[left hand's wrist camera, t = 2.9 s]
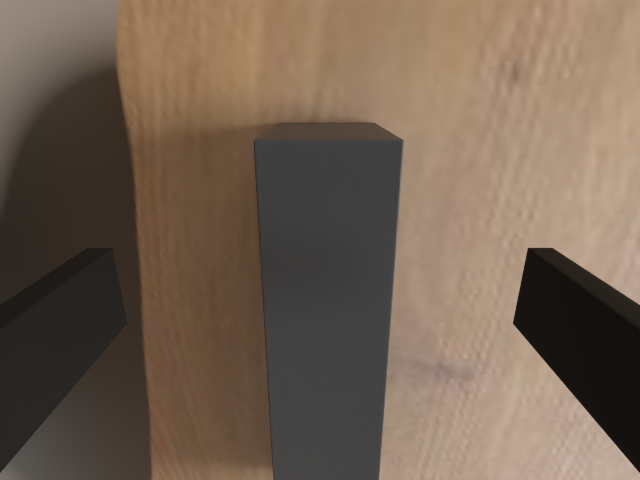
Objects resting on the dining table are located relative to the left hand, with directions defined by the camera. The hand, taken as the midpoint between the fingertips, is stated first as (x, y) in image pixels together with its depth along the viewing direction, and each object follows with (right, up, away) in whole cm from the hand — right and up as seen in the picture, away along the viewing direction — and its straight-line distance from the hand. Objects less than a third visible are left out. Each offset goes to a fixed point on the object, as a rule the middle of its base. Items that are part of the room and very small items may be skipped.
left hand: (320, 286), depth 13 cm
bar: (0, -4, +13) cm, 14 cm away
